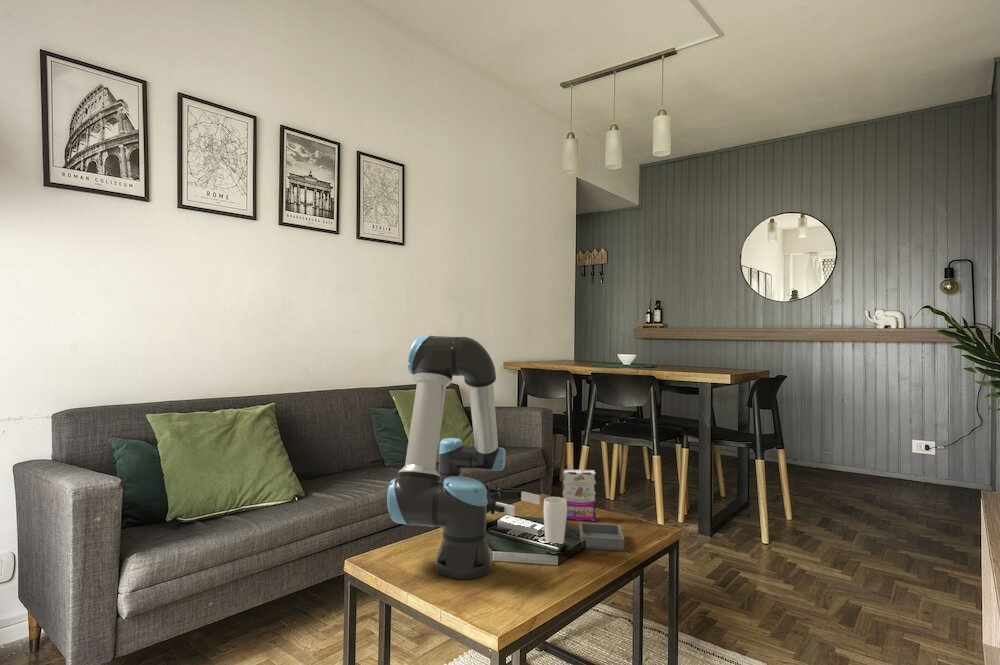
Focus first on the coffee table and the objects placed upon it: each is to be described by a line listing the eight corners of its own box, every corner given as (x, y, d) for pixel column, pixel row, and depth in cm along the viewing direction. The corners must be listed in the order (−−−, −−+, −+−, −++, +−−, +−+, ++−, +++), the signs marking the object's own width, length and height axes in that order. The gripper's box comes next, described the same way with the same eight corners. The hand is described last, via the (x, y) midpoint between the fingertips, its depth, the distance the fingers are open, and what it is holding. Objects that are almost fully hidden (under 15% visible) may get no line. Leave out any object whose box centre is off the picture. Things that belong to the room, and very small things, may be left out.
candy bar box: (594, 517, 194) (595, 469, 194) (595, 521, 189) (596, 473, 189) (562, 515, 195) (563, 468, 195) (562, 520, 190) (563, 471, 190)
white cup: (565, 548, 165) (566, 497, 165) (566, 557, 158) (567, 504, 158) (542, 546, 166) (543, 496, 166) (542, 555, 159) (543, 502, 159)
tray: (580, 548, 165) (580, 536, 165) (579, 533, 177) (579, 522, 177) (624, 551, 163) (624, 539, 163) (619, 535, 176) (619, 524, 176)
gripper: (495, 494, 191) (548, 507, 178) (446, 513, 171) (502, 529, 158) (495, 472, 191) (548, 483, 178) (446, 489, 171) (503, 503, 158)
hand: (527, 505), depth 168 cm, fingers open, 13 cm apart
